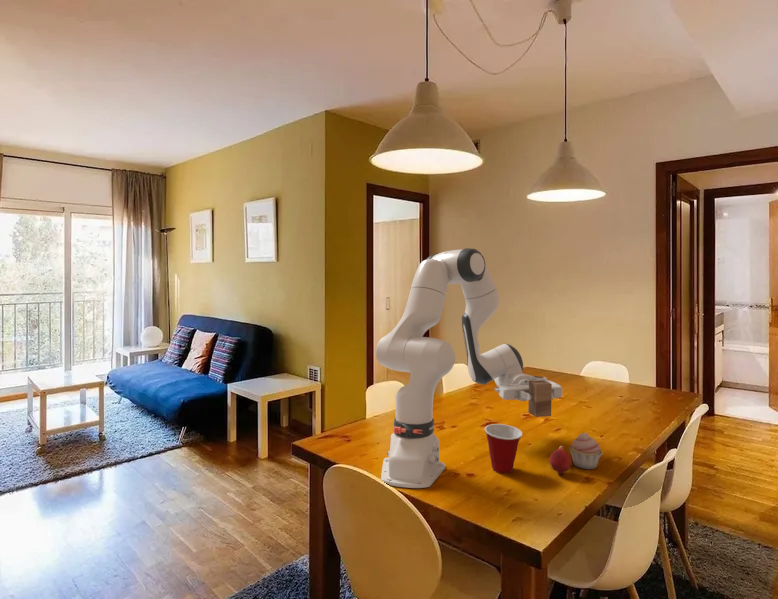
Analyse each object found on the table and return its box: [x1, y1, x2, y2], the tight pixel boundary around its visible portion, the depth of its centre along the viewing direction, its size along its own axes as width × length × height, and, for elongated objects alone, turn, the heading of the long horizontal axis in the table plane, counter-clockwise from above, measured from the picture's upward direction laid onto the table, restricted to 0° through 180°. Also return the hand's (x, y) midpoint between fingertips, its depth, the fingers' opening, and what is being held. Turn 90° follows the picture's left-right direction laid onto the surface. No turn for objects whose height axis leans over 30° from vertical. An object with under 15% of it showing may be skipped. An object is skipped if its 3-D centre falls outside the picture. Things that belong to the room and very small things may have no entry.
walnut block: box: [527, 380, 552, 418], centre depth 145 cm, size 5×5×10 cm
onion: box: [549, 445, 573, 475], centre depth 134 cm, size 6×6×8 cm
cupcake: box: [568, 432, 603, 470], centre depth 140 cm, size 9×9×10 cm
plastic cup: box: [484, 423, 523, 474], centre depth 137 cm, size 11×11×12 cm
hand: (541, 397), depth 144 cm, fingers closed on walnut block, 5 cm apart
